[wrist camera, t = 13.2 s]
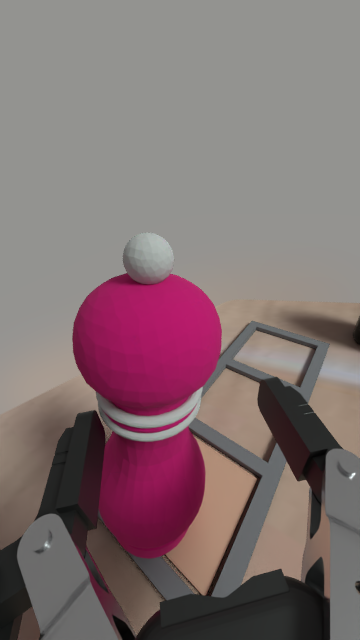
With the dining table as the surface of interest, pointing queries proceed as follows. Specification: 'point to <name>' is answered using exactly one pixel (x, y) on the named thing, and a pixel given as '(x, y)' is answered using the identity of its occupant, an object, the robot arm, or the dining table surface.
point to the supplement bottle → (357, 331)
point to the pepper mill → (148, 393)
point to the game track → (227, 491)
